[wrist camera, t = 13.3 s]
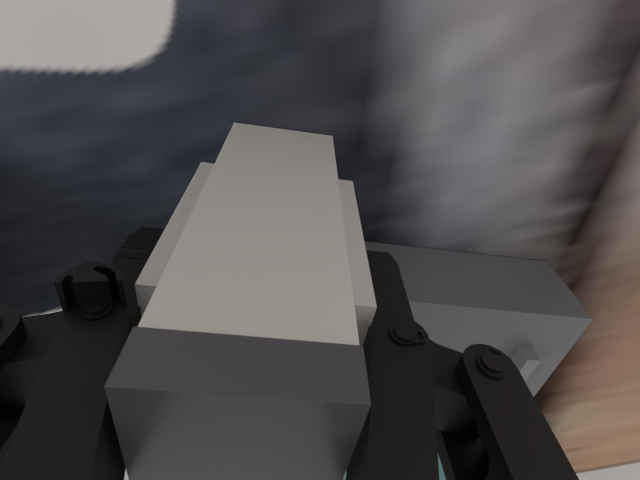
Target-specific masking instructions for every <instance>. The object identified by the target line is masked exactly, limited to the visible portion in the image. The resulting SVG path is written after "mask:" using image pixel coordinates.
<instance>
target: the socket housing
mask: <svg viewBox="0 0 640 480" xmlns="http://www.w3.org/2000/svg"><path fill="white" fill-rule="evenodd" d="M364 243H365V248H366V250H370V251H379V252H388V253H389V254H390V255H391V256H392V257H393V258H394V259H395V261H396V262H397V263H398V266H399V269H400V273H401V277H402V280H403V283H404V287H405V290H406V294H407V297H408V300H409V304H410V307H411V311H412V314H413V318H414V321H415V322H417V323H418V324H419V325H421V326H422V327H423V328H424V330H425V331H426V332H427V333H428V336H429V339H430V340H432V341H433V342H435V343H437V344H439V345H442V346H444V347H447V348H450V349H453V350H456V351H458V352H461V353H463V352H464V350H465V349H466V348H467V347H469V346H470V345H472V344H485V345H490V346H492V347H494V348H496V349H498V350H501V351H502V352H503V353H504V354H506V355H507V356H508V357H509V358H510V359H511V360H512V361H513V362H514V364H515V365H516V366H517V368H518V370H519V372H520V374H521V375H522V377H523V379H524V381H525V383H526V384H527V386H528V388H529V390H530V392H531V393H532V395H533V397H534V396H535V395H536V393H537V392H538V391H539V389H540V388H541V387H542V386H543V384H544V383H545V382H546V380H547V379H548V378H549V376H550V375H551V374H552V372H553V371H554V370H555V369H556V367H557V366H558V365H559V363H560V362H561V361H562V359H563V358H564V357H565V356H566V354H567V353H568V352H569V350H570V349H571V348H572V346H573V345H574V344H575V343H576V341H577V340H578V339H579V337H580V336H581V335H582V333H583V332H584V331H585V329H586V328H587V327H588V326H589V324H590V323H591V322H592V320H593V318H592V317H591V316H590V314H589V313H588V312H587V310H586V309H585V308H584V307H583V305H582V304H581V303H580V302H579V300H578V299H577V298H576V297H575V295H574V294H573V293H572V292H571V290H570V289H569V288H568V286H567V285H566V284H565V283H564V281H563V280H562V279H561V278H560V276H559V275H558V274H557V273H556V271H555V270H554V269H553V268H552V266H551V265H550V264H549V263H548V262H547V261H538V260H529V259H520V258H511V257H502V256H493V255H484V254H475V253H466V252H457V251H448V250H439V249H430V248H421V247H412V246H403V245H394V244H385V243H376V242H367V241H364ZM343 480H344V478H343Z"/></svg>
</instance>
